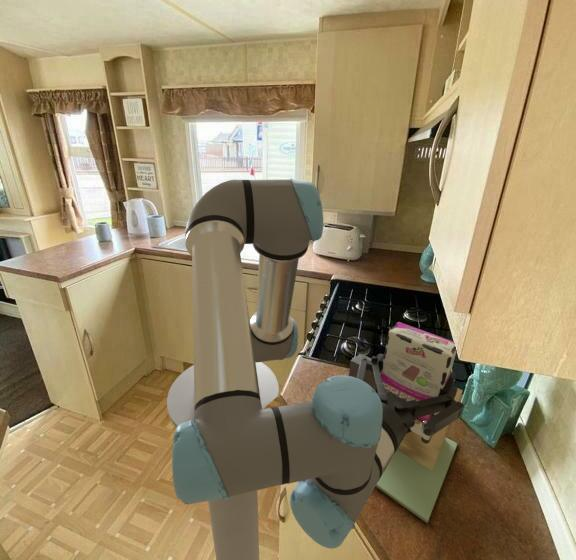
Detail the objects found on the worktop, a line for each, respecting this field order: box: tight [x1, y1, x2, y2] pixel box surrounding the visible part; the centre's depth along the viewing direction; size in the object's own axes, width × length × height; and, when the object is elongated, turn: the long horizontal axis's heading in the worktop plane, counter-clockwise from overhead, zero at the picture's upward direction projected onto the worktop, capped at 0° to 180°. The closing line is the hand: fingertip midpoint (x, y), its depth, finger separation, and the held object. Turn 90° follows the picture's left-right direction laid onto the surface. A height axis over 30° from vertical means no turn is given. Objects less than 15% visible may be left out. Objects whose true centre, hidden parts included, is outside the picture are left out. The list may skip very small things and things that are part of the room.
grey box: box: [348, 353, 381, 388], centre depth 84 cm, size 10×6×14 cm, turn 50°
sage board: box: [375, 437, 458, 524], centre depth 73 cm, size 16×22×1 cm
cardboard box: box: [397, 387, 464, 471], centre depth 73 cm, size 11×10×16 cm
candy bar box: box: [381, 321, 458, 422], centre depth 59 cm, size 11×5×16 cm, turn 50°
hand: (421, 363), depth 62 cm, fingers closed on candy bar box, 11 cm apart
